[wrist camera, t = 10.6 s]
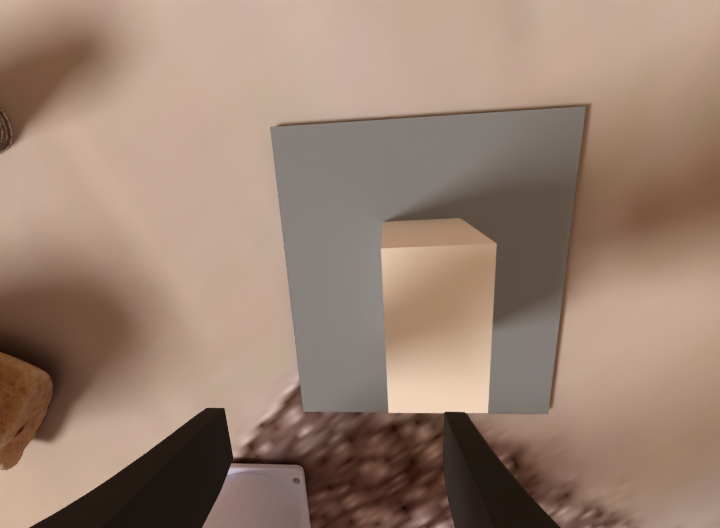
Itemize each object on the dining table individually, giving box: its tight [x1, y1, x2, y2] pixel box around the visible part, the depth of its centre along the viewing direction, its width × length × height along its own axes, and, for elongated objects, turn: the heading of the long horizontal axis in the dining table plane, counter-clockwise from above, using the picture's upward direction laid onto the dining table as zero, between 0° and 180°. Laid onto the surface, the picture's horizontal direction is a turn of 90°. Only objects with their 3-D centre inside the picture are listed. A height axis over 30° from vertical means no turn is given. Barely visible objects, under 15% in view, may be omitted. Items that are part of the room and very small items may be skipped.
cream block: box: [381, 218, 497, 413], centre depth 16 cm, size 4×7×6 cm, turn 4°
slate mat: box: [270, 106, 586, 414], centre depth 19 cm, size 17×15×1 cm
